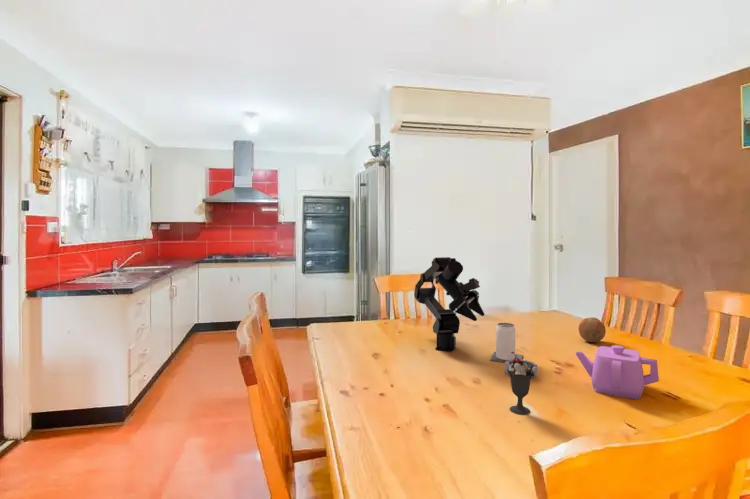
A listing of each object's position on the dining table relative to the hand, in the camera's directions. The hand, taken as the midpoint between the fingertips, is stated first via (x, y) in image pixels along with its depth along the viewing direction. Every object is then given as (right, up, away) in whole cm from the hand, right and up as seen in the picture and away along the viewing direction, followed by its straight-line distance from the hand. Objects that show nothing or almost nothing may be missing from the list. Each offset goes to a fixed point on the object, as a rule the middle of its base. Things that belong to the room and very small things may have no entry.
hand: (480, 317), depth 151 cm
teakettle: (+32, -15, -31) cm, 47 cm away
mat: (+8, -14, -4) cm, 17 cm away
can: (+8, -14, -5) cm, 16 cm away
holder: (+8, -15, -19) cm, 25 cm away
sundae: (-1, -16, -45) cm, 48 cm away
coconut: (+49, -13, +16) cm, 53 cm away
